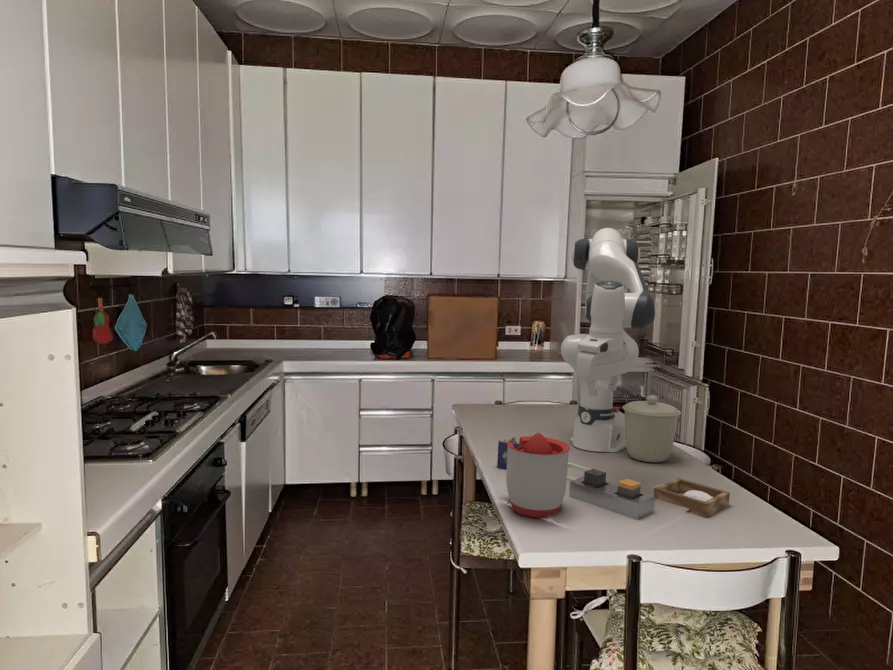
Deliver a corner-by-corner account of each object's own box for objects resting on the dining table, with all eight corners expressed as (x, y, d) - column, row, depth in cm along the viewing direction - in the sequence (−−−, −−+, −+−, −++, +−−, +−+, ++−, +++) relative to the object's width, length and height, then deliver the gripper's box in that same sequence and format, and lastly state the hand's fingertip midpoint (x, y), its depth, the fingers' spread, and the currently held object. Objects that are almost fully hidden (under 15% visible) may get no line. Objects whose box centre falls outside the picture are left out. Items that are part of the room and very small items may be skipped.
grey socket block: (586, 492, 171) (587, 475, 170) (653, 515, 156) (655, 496, 156) (568, 499, 166) (569, 481, 165) (637, 523, 151) (638, 503, 151)
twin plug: (591, 494, 167) (593, 468, 167) (604, 498, 164) (606, 472, 164) (583, 497, 165) (584, 471, 164) (595, 501, 162) (597, 475, 161)
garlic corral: (677, 489, 176) (678, 477, 175) (728, 505, 165) (729, 492, 165) (653, 500, 167) (654, 488, 166) (706, 517, 156) (707, 504, 156)
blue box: (528, 470, 188) (529, 436, 187) (527, 473, 185) (528, 438, 184) (497, 467, 190) (499, 433, 189) (496, 470, 187) (497, 435, 186)
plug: (624, 505, 160) (626, 478, 159) (638, 509, 157) (640, 482, 157) (616, 508, 157) (618, 481, 157) (630, 513, 155) (632, 486, 154)
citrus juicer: (519, 492, 170) (523, 420, 167) (577, 509, 159) (581, 432, 157) (485, 508, 158) (489, 430, 155) (545, 528, 147) (550, 445, 144)
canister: (681, 469, 195) (686, 403, 193) (621, 463, 198) (625, 398, 196) (672, 453, 212) (677, 392, 210) (617, 448, 216) (621, 388, 214)
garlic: (718, 507, 164) (719, 493, 164) (709, 514, 159) (710, 499, 159) (688, 498, 170) (689, 485, 169) (678, 505, 165) (679, 491, 164)
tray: (568, 467, 192) (568, 462, 192) (602, 478, 183) (602, 472, 183) (544, 475, 184) (544, 469, 184) (578, 487, 175) (578, 480, 175)
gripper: (616, 337, 176) (613, 385, 178) (573, 344, 162) (570, 396, 164) (636, 340, 171) (633, 390, 173) (594, 347, 157) (591, 401, 159)
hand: (602, 393), depth 168 cm, fingers open, 8 cm apart
